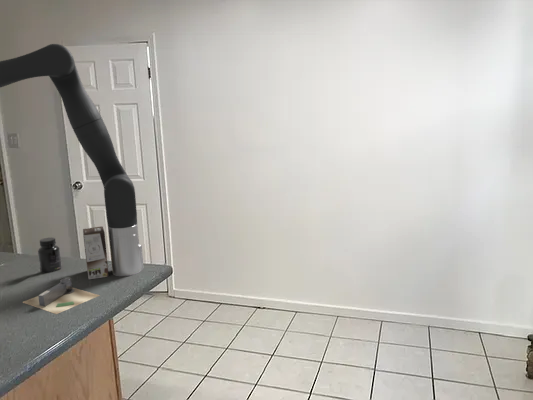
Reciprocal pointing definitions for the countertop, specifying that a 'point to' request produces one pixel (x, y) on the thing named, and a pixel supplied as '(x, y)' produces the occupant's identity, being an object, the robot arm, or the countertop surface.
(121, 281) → the countertop surface
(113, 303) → the countertop surface
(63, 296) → the board
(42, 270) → the supplement bottle
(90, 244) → the coffee box
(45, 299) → the tuning lever
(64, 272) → the countertop surface
